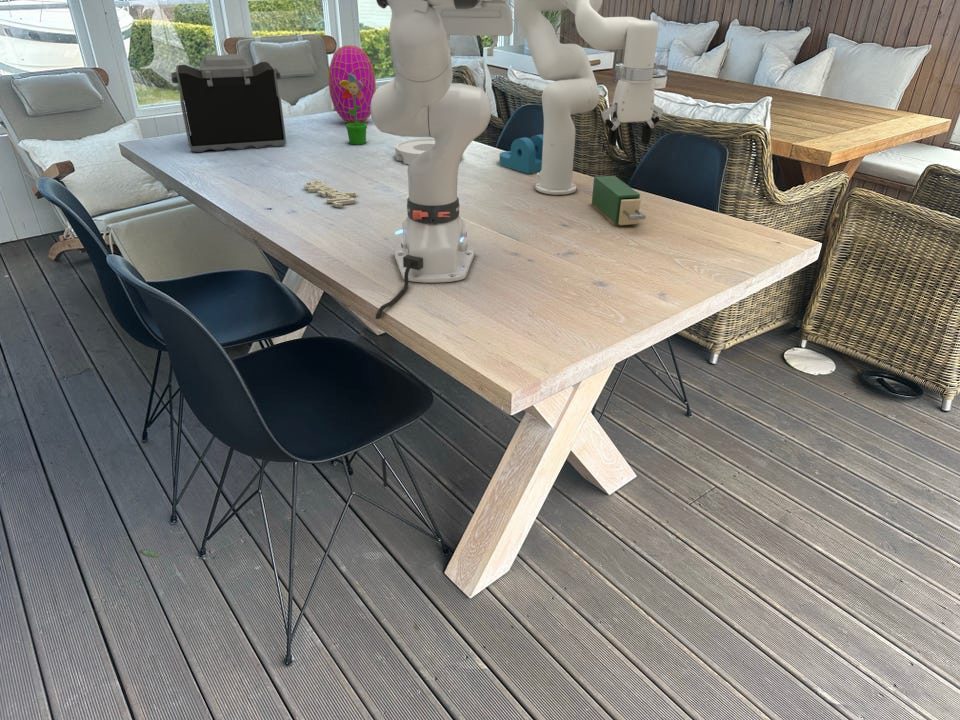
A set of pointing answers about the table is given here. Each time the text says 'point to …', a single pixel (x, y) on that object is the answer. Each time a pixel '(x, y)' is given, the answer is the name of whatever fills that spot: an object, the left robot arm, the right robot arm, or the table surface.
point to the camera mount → (524, 155)
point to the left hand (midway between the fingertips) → (470, 55)
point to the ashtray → (412, 149)
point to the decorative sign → (330, 193)
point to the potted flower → (354, 129)
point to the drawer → (629, 211)
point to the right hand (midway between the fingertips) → (628, 143)
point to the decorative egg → (340, 66)
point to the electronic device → (230, 103)
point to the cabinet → (610, 196)
